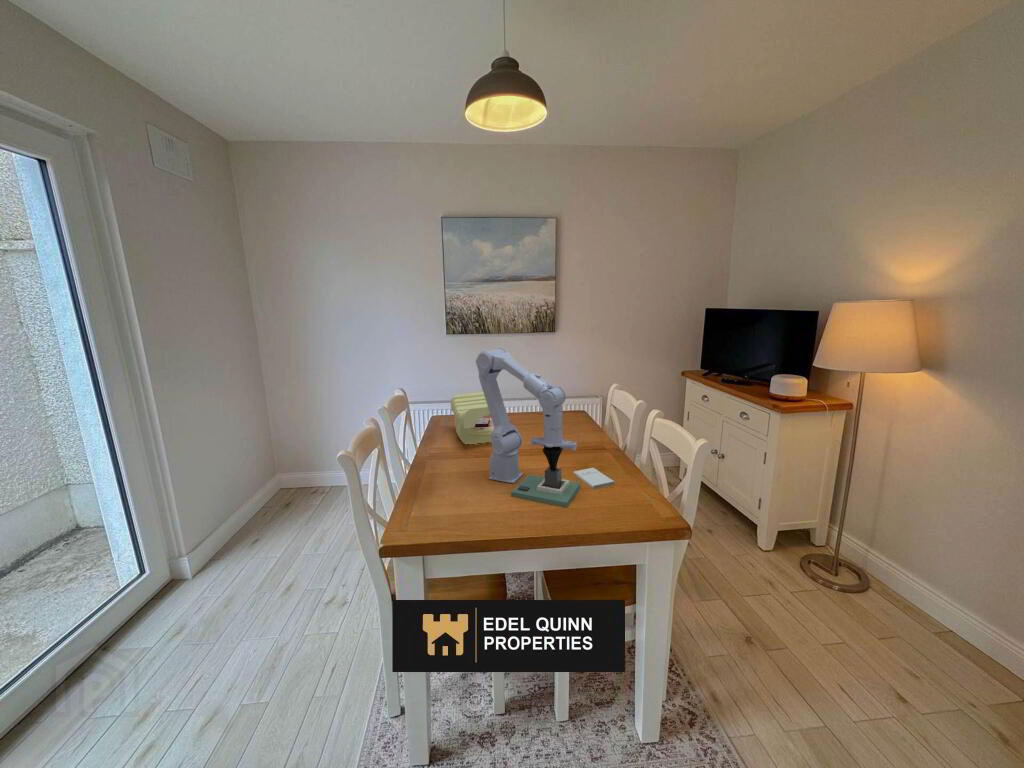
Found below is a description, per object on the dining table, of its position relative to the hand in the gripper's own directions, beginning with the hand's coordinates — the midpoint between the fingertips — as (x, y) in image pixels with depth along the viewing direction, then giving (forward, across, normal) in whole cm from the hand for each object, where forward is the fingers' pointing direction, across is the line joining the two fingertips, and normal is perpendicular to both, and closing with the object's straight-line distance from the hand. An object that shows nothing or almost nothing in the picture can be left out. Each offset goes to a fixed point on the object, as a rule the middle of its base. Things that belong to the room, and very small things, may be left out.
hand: (553, 468), depth 125 cm
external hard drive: (+8, +9, +14) cm, 18 cm away
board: (+8, -2, -1) cm, 8 cm away
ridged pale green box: (+8, -49, +34) cm, 61 cm away
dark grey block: (+6, 0, 0) cm, 6 cm away
